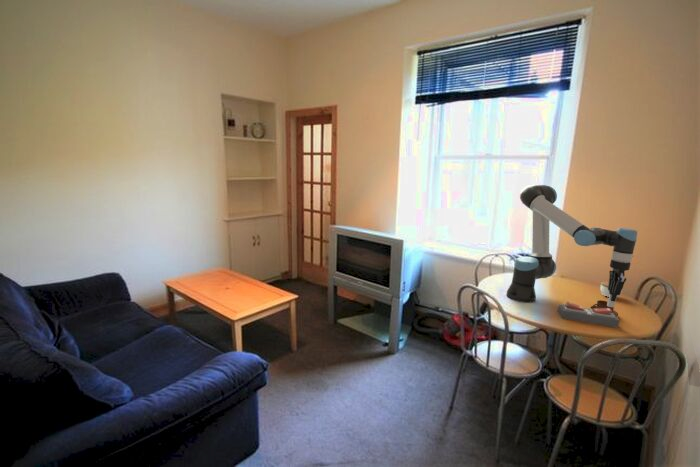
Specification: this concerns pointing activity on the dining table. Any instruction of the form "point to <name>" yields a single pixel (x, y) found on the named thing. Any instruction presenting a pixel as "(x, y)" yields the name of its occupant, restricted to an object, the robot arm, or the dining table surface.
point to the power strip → (588, 316)
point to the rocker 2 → (602, 310)
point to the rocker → (574, 306)
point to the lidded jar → (605, 289)
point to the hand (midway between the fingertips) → (610, 306)
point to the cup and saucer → (603, 306)
